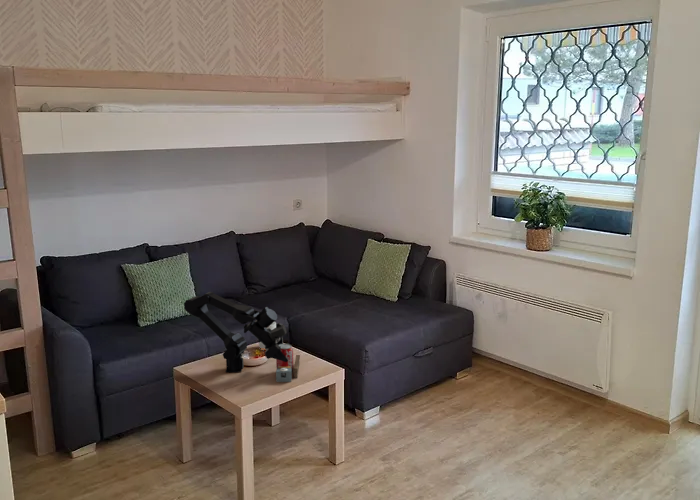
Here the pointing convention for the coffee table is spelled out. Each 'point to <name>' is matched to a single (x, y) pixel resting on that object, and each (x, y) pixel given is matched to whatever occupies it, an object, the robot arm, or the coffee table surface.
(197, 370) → the coffee table surface
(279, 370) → the gauge cabinet
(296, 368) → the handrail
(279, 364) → the soda can
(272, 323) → the mug
